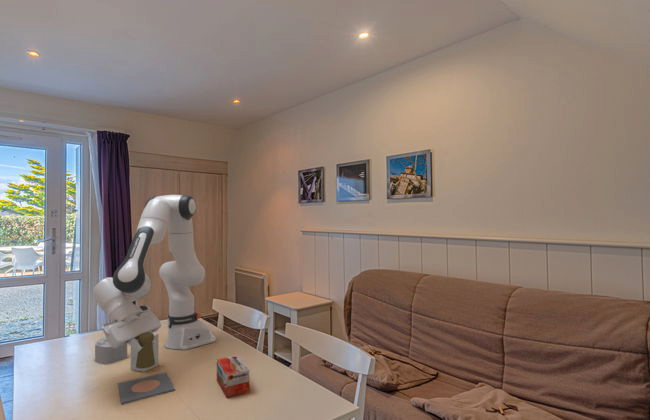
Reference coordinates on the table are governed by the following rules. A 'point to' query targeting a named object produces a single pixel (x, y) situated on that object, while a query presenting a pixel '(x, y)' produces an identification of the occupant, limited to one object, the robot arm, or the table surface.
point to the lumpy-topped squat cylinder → (109, 352)
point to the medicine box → (232, 376)
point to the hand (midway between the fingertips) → (147, 347)
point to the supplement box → (135, 353)
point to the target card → (144, 387)
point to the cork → (145, 351)
